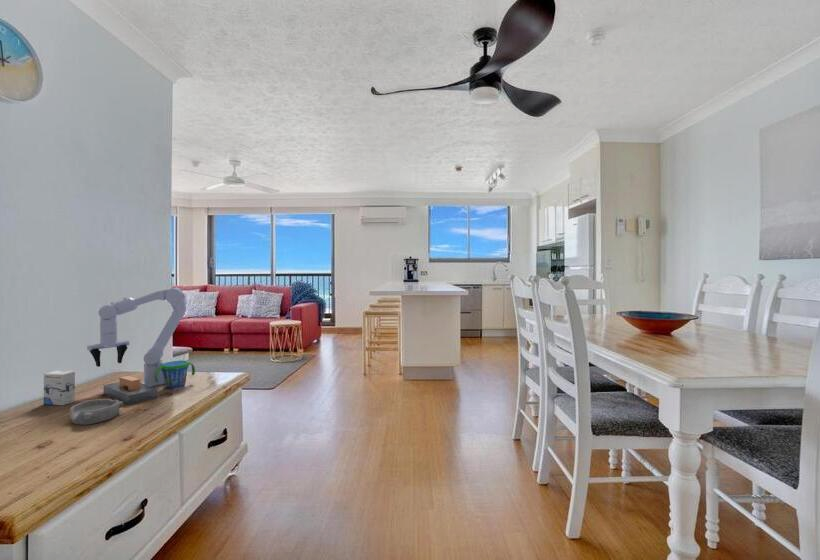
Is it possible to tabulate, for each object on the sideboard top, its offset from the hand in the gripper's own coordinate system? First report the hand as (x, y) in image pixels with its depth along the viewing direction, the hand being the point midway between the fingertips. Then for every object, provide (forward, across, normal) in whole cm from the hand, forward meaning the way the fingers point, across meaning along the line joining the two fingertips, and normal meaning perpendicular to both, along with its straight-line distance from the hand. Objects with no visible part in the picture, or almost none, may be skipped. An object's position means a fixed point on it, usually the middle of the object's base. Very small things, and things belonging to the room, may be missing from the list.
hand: (109, 364), depth 169 cm
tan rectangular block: (+10, -1, +18) cm, 20 cm away
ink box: (+11, +18, +6) cm, 22 cm away
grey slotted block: (+10, -1, +18) cm, 21 cm away
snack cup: (+11, -18, +19) cm, 28 cm away
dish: (+11, +16, +36) cm, 41 cm away
